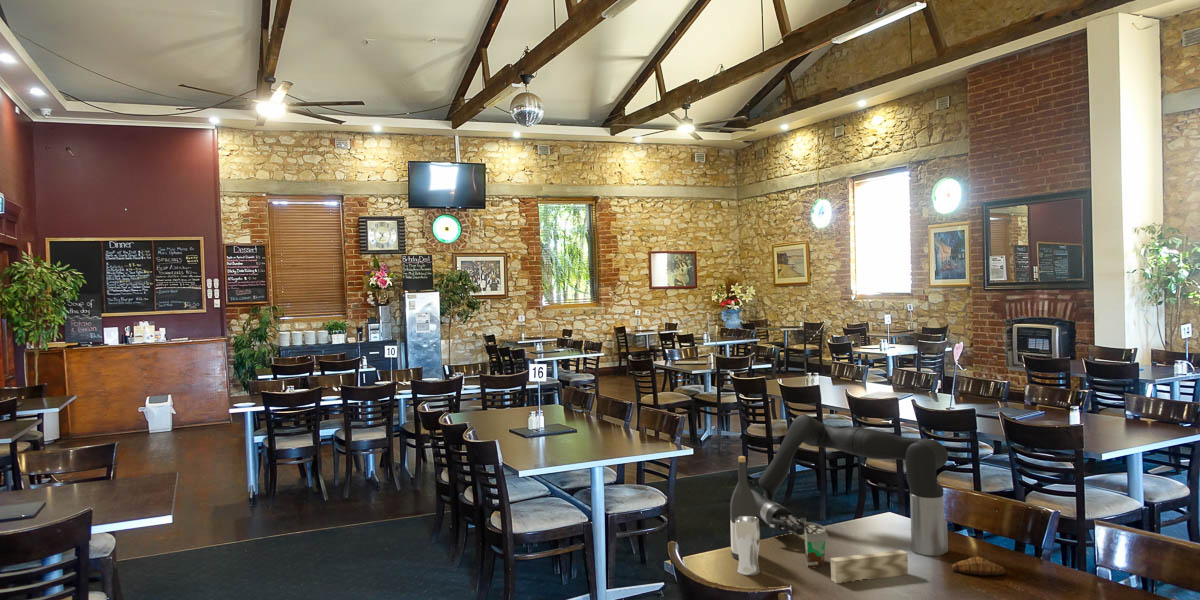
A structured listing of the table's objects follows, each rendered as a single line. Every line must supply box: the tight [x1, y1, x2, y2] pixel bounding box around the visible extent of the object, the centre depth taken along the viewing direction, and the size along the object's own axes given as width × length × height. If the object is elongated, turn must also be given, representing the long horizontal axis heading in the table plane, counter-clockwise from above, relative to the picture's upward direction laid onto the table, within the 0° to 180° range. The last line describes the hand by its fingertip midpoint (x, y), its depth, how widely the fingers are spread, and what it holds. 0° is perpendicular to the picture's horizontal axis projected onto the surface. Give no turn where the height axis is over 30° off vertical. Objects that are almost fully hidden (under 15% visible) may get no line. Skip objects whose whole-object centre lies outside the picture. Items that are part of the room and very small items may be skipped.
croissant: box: [951, 555, 1006, 577], centre depth 203 cm, size 14×7×5 cm, turn 75°
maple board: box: [830, 550, 909, 584], centre depth 202 cm, size 22×2×6 cm, turn 102°
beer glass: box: [735, 516, 761, 576], centre depth 209 cm, size 7×7×15 cm
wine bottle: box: [729, 455, 758, 560], centre depth 221 cm, size 8×8×30 cm
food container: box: [804, 521, 828, 569], centre depth 214 cm, size 12×6×10 cm, turn 168°
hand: (801, 531), depth 224 cm, fingers closed
